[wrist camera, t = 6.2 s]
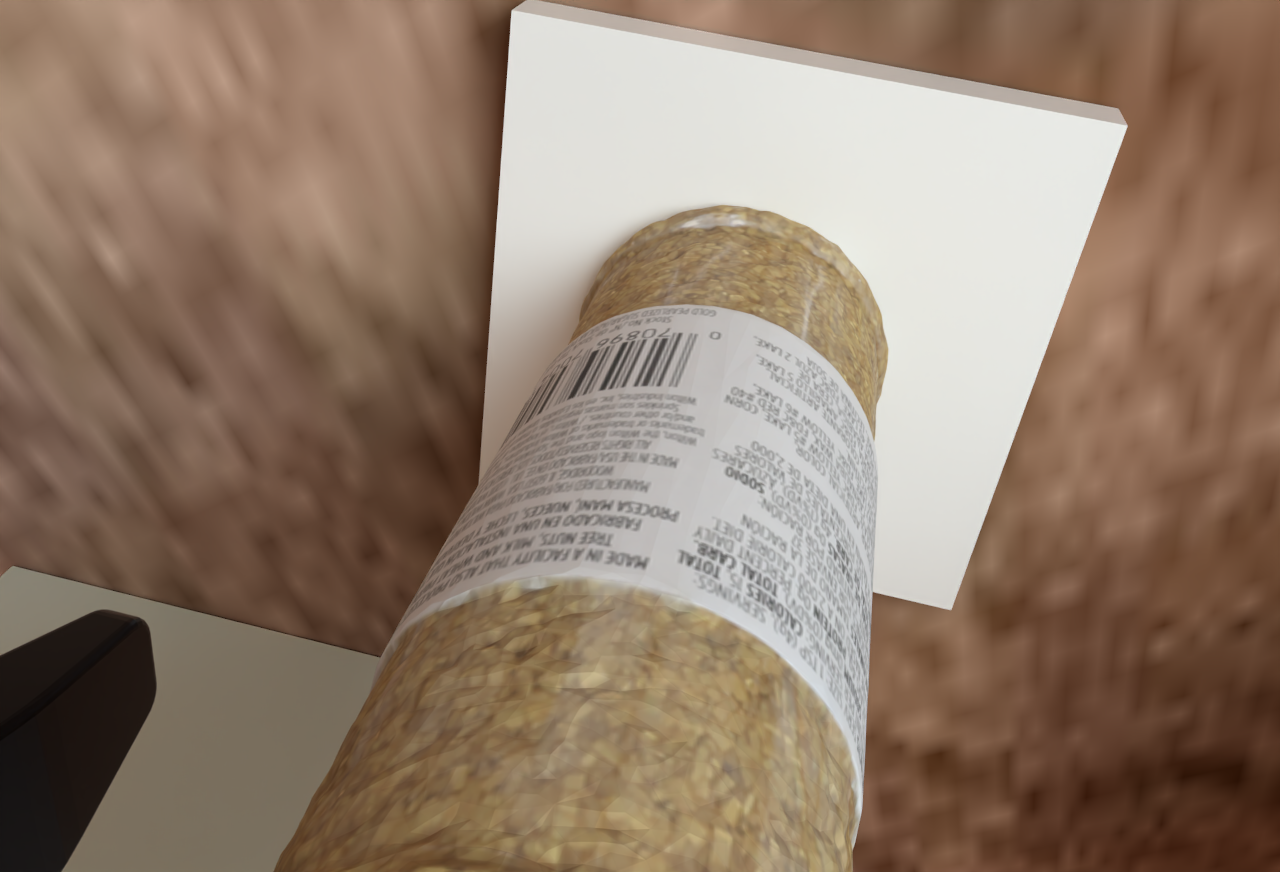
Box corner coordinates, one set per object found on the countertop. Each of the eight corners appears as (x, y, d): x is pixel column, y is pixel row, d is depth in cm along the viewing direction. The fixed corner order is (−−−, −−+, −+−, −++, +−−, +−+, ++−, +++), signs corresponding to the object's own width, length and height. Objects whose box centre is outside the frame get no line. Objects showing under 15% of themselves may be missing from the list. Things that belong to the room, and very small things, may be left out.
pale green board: (574, 705, 23) (371, 1275, 14) (563, 775, 24) (370, 1343, 15) (12, 565, 24) (-479, 1014, 15) (27, 637, 25) (-425, 1094, 16)
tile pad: (1118, 107, 15) (1127, 125, 14) (949, 579, 19) (950, 609, 19) (528, -2, 16) (511, 10, 15) (492, 474, 20) (477, 499, 19)
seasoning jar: (625, 484, 19) (190, 1623, 7) (549, 219, 17) (-224, 1256, 5) (914, 456, 17) (910, 1792, 6) (870, 164, 15) (743, 1390, 4)
